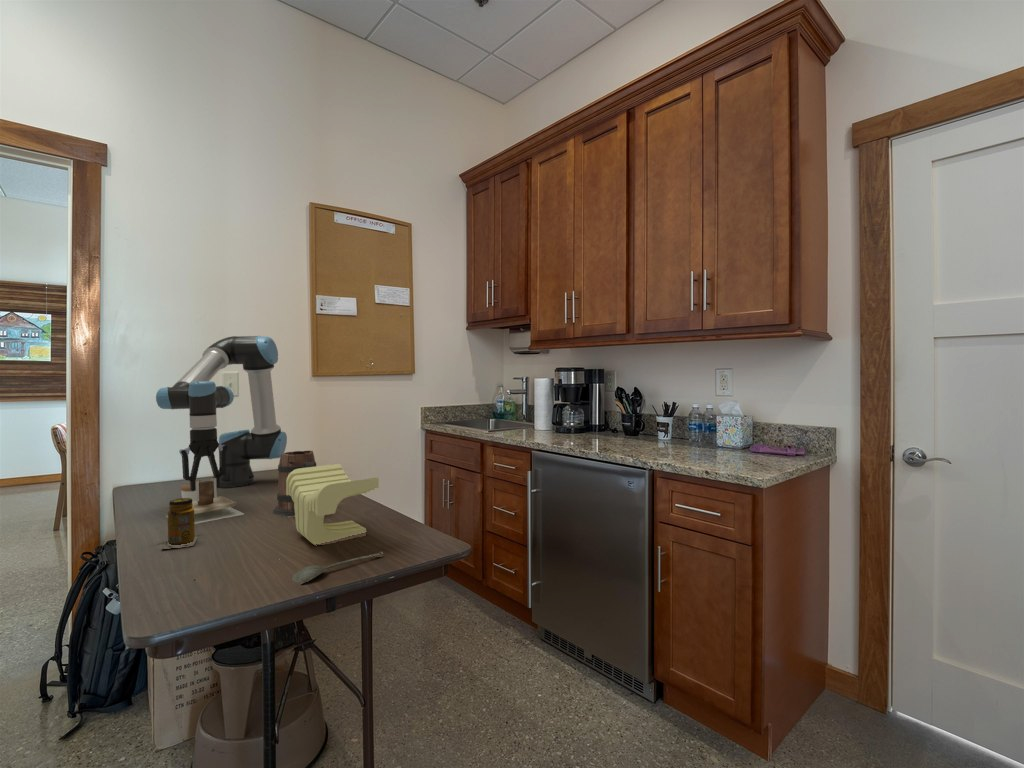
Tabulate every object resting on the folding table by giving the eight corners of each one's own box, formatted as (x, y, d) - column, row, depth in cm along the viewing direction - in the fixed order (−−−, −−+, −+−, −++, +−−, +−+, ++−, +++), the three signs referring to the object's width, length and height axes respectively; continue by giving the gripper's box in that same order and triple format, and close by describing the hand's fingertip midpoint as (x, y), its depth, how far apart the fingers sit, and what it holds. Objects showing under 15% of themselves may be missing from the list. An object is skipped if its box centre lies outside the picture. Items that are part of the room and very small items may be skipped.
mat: (226, 506, 172) (226, 505, 172) (244, 515, 160) (244, 514, 160) (165, 518, 159) (165, 516, 159) (180, 528, 147) (180, 526, 147)
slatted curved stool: (287, 530, 144) (285, 470, 144) (341, 519, 154) (339, 463, 154) (318, 557, 120) (317, 486, 120) (379, 543, 130) (378, 477, 130)
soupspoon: (285, 583, 108) (295, 594, 103) (284, 569, 107) (295, 578, 103) (376, 554, 123) (389, 562, 118) (375, 541, 122) (388, 548, 118)
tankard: (263, 511, 166) (262, 452, 166) (313, 502, 177) (312, 447, 177) (288, 525, 149) (286, 460, 149) (341, 514, 160) (340, 453, 160)
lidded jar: (204, 510, 168) (203, 483, 168) (173, 510, 169) (173, 483, 169) (223, 502, 179) (222, 477, 179) (194, 502, 179) (194, 477, 179)
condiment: (198, 538, 138) (197, 495, 138) (193, 546, 130) (192, 502, 130) (167, 542, 135) (166, 499, 135) (160, 551, 127) (159, 505, 127)
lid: (222, 498, 170) (221, 476, 170) (236, 505, 160) (235, 481, 160) (174, 507, 160) (174, 483, 159) (187, 515, 150) (186, 489, 150)
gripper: (228, 425, 168) (230, 492, 169) (168, 430, 156) (171, 502, 156) (236, 426, 163) (238, 495, 164) (175, 431, 150) (177, 506, 151)
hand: (205, 498), depth 160 cm, fingers closed on lid, 4 cm apart
